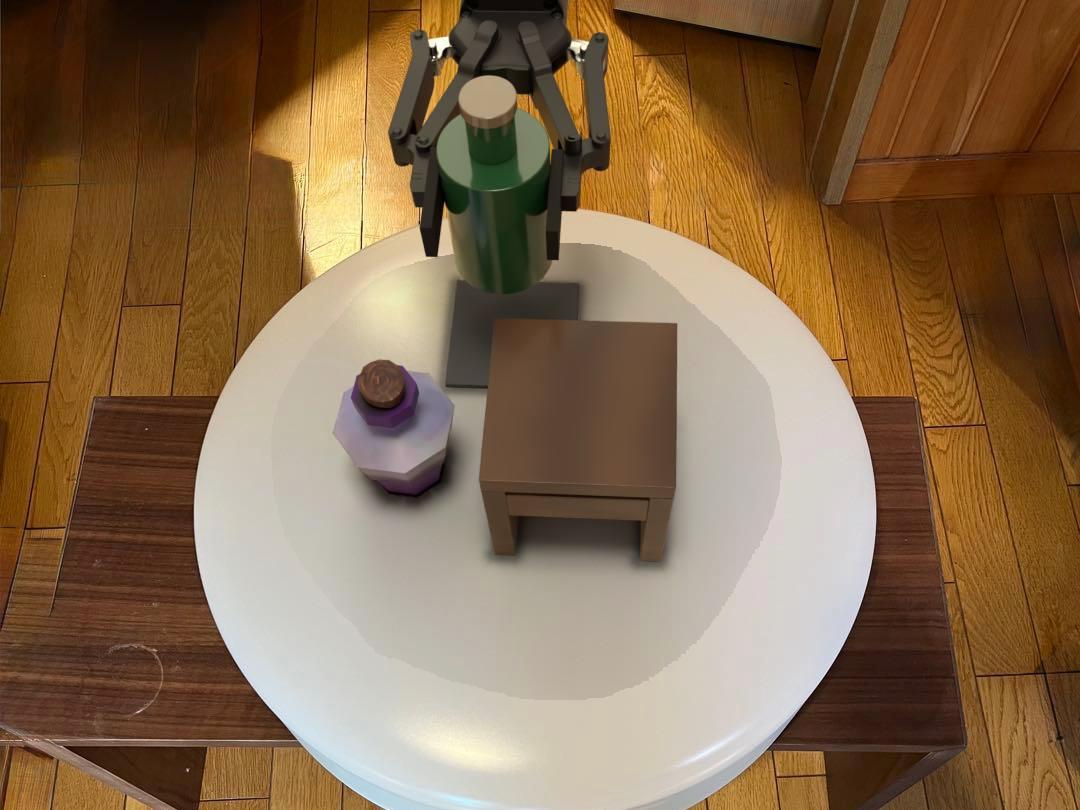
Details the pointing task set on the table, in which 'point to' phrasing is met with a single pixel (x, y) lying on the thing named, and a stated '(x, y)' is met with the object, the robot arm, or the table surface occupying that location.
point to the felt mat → (478, 322)
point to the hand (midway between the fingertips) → (490, 243)
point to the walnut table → (580, 426)
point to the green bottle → (496, 188)
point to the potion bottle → (396, 427)
